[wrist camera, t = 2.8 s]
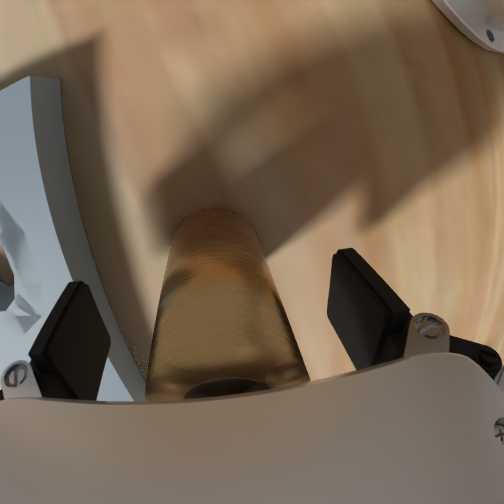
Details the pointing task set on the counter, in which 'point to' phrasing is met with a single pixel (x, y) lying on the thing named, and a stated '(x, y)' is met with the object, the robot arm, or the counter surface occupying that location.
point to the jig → (47, 233)
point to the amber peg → (220, 316)
